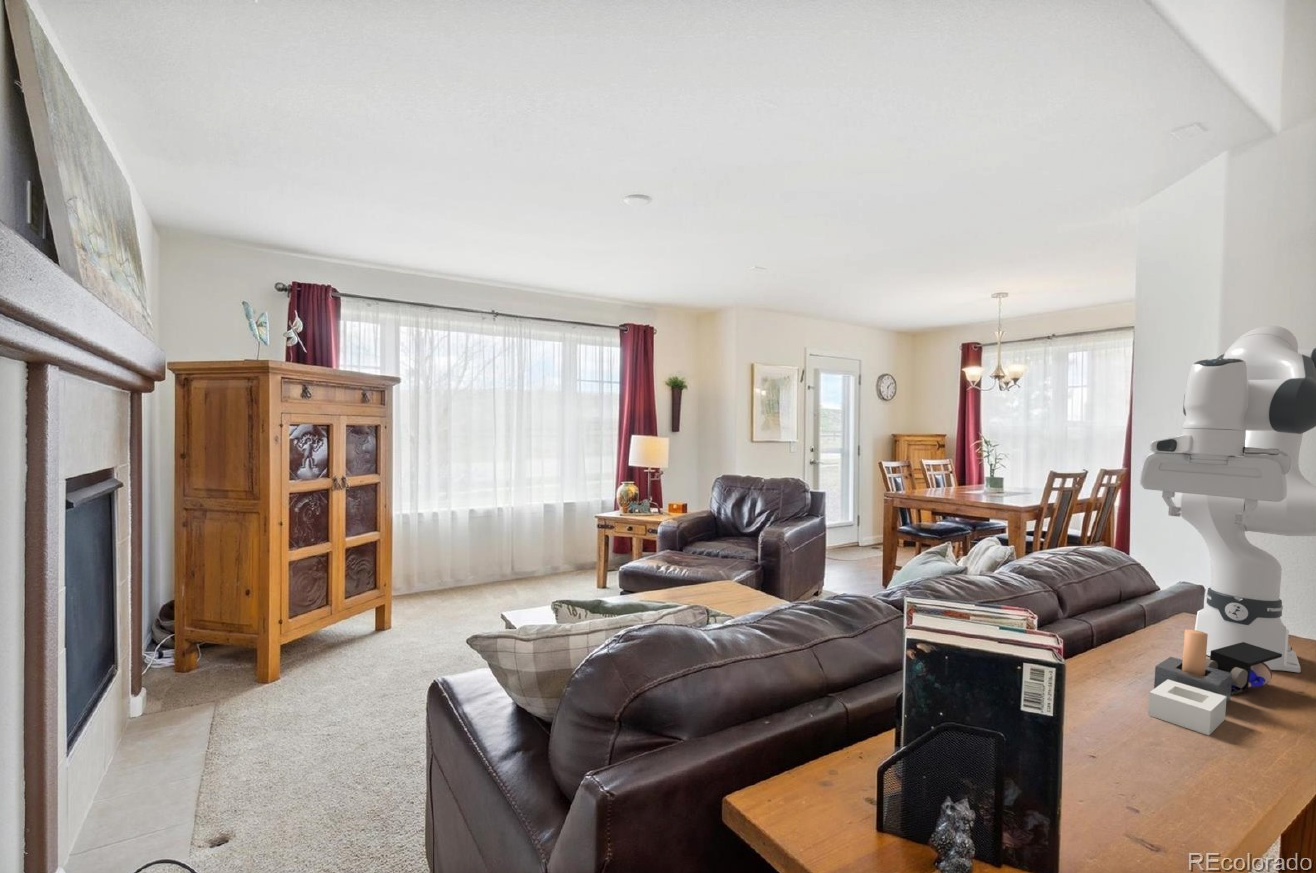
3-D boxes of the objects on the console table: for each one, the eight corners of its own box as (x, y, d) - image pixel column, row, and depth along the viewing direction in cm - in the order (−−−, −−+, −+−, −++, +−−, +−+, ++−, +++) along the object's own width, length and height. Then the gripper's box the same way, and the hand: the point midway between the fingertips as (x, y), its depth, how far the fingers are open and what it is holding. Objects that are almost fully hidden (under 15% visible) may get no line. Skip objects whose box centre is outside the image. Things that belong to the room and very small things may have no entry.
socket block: (1166, 701, 112) (1167, 679, 112) (1224, 719, 106) (1226, 696, 105) (1147, 715, 106) (1149, 692, 106) (1208, 735, 100) (1210, 711, 99)
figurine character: (1241, 708, 114) (1283, 688, 120) (1241, 668, 113) (1284, 649, 119) (1197, 692, 120) (1239, 674, 126) (1197, 654, 119) (1239, 637, 125)
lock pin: (1183, 691, 117) (1187, 628, 116) (1205, 697, 114) (1209, 633, 114) (1178, 695, 115) (1182, 631, 114) (1200, 701, 112) (1205, 636, 112)
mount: (1168, 681, 121) (1170, 656, 121) (1230, 700, 114) (1232, 673, 113) (1153, 692, 115) (1155, 666, 115) (1217, 712, 108) (1219, 684, 108)
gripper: (1295, 449, 108) (1289, 528, 108) (1150, 442, 124) (1145, 511, 124) (1288, 448, 104) (1281, 530, 104) (1139, 442, 120) (1134, 512, 121)
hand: (1206, 520), depth 114 cm, fingers open, 8 cm apart
